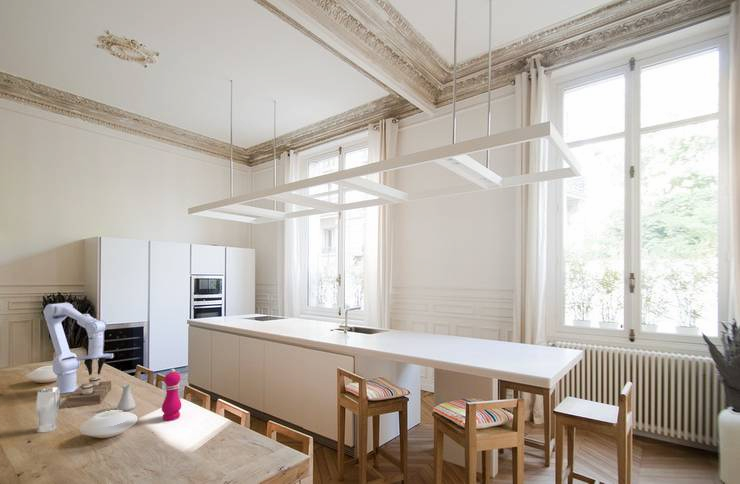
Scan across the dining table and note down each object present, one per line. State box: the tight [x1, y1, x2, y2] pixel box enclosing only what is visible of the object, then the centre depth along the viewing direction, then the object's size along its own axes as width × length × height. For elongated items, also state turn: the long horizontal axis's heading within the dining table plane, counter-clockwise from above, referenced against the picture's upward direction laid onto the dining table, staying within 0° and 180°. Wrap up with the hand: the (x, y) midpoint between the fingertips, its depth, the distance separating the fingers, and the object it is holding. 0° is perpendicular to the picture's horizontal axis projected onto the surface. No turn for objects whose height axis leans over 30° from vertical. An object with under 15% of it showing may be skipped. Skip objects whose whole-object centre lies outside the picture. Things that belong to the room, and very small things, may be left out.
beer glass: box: [35, 386, 61, 434], centre depth 146 cm, size 7×7×15 cm
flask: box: [116, 384, 137, 412], centre depth 167 cm, size 7×7×10 cm
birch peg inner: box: [88, 376, 101, 387], centre depth 185 cm, size 4×4×4 cm
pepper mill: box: [161, 368, 182, 422], centre depth 157 cm, size 7×7×20 cm
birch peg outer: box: [82, 383, 94, 395], centre depth 174 cm, size 4×4×4 cm
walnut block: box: [66, 380, 112, 409], centre depth 179 cm, size 22×12×4 cm, turn 23°
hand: (94, 374), depth 185 cm, fingers open, 3 cm apart
